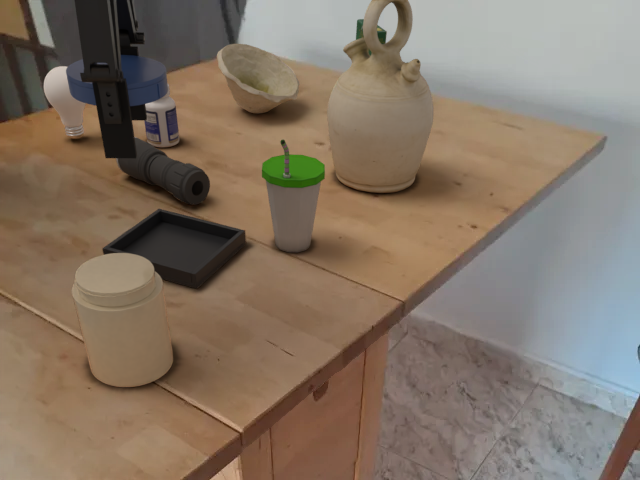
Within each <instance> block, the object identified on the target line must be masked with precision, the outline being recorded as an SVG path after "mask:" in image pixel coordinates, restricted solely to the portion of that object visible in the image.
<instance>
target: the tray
mask: <svg viewBox="0 0 640 480" xmlns="http://www.w3.org/2000/svg"><path fill="white" fill-rule="evenodd" d="M246 236H247V235H246V230H245V229H241V228H237V227H233V226H231V225H225V224H221V223H217V222H214V221H210V220H207V219H202V218H198V217H194V216H191V215H186V214H182V213H178V212H175V211H170V210H167V209H162V208H157V209H156V210H155V211H153V212H152V213H150V214H149V215H147V216H146V217H145V218H143V219H142V220H140V221H139V222H137V223H136V224H135V225H133V226H132V227H130V228H129V229H128V230H126V231H125V232H123V233H122V234H120V235H119V236H118V237H116V238H115V239H113V240H112V241H111V242H109V243H107V244H106V245H105V246H104V247H102V252H103V255H105V254H112V253H130V254H135V255H139V256H142V257H144V258H146V259H148V260H149V261H150V262H151V263H152V264H153V266H154V270H155V272H157V273H158V274H159V275H160V277H161V279H162V280H164V281H168V282H171V283H175V284H179V285H182V286H185V287H190V288H193V289H196V290H197V289H198V288H199V287H201V286H202V285H203V284H204V283H205V282H206V281H207V280H208V279H209V278H211V277H212V276H213V275H214V274H215V273H216V272H217V271H218V270H219V269H221V268H222V267H223V266H224V265H225V264H226V263H227V262H228V261H229V260H231V259H232V257H234V256H235V255H236V254H237V253H238V252H239V251H240V250H241V249H243V248H244V247H245V246H246V245H247V238H246Z"/></svg>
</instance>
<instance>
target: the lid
mask: <svg viewBox="0 0 640 480" xmlns="http://www.w3.org/2000/svg"><path fill="white" fill-rule="evenodd" d="M97 64H107V63H97ZM121 66H122V71H123V78H126V82H127V89H128V96H129V103H130V106H137V105H142V104H147V103H151V102H154V101H156V100H159V99H161V98H162V97H164V96H165V95H166V94H167V92H168V84H169V83H168V75H167V68H166V66H165V64H164V63H162V62H160V61H159V60H156V59H153V58H150V57H146V56H140V55H139V56H134V55H121ZM66 67H67V69H66V74H67V80H68V85H69V90H70V94H71V96H72V97H73V98H75V99H76V100H78V101H80V102H83V103H86V105H91V106H96V101H95V96H94V90H93V84H92V82H82V80H81V76H80V73H84V64H83V58H81V59H79V60H77V61H74V62H72V63H71V64H69V65H67V66H66Z"/></svg>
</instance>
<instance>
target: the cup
mask: <svg viewBox="0 0 640 480" xmlns="http://www.w3.org/2000/svg"><path fill="white" fill-rule="evenodd" d="M279 143H280V146H281V147H282V149H283V154H280V155H274V156H271V157H270V158H268V159H267V160H265V161H263V162H262V165H261V177H262V178H263V180H265V184H266V190H267V191H266V192H267V198H268V204H269V211H270V217H271V223H272V230H273V235H274V243H275V246H276V247H277V249H278V250H279V251H283V252H286V253H302V252H305V251H307V250H308V249H309V248H310V247H311V242H312V236H313V230H314V223H315V220H316V219H315V218H316V213H317V208H318V201H319V195H320V188H321V183H322V181H323V180H325V177H326V167H325V164H324V163H323V162H322V161H320V160H319V159H317V158H315V157H312V156H308V155H305V154H292V153H291V154H290V149H289V147H288V144H287V142H286V140H285V139H281V140H280V141H279Z"/></svg>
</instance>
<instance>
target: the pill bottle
mask: <svg viewBox="0 0 640 480" xmlns="http://www.w3.org/2000/svg"><path fill="white" fill-rule="evenodd" d="M170 89H171V88H170V84H169V83H168V92H167V94H166V95H165V96H164V97H162V98H161V99H159V100H156V101H154V102H151V103H147V104H145V106H146V114H147V120H143V122H144V128H145V134H146V135H145V136H146V142H147V143H150V144H151V145H153V146H154V147H155V148H170V147H174V146H176V145H177V144H179V143H180V132H179V124H178V123H179V121H178V114H177V106H176V101H175V99H173V98H172V97H171V90H170Z"/></svg>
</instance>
